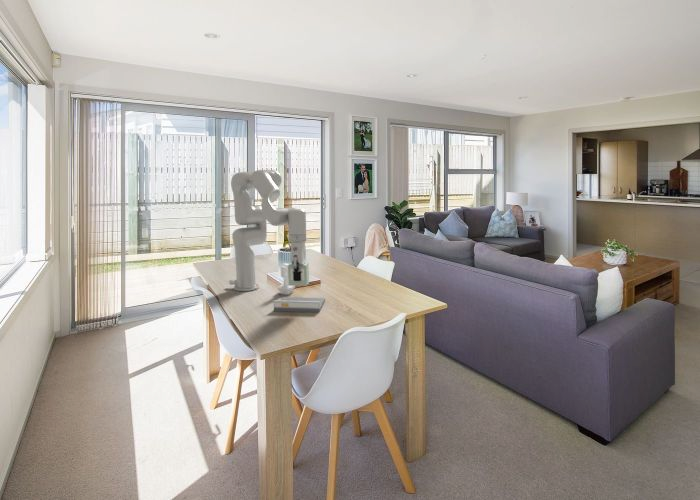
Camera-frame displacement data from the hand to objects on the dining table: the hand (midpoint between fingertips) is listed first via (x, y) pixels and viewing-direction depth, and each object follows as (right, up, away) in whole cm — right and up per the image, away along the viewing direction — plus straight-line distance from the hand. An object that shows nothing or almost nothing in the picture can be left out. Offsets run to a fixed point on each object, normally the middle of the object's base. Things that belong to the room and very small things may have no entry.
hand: (298, 278), depth 182 cm
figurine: (-9, -9, +26) cm, 29 cm away
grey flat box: (0, -13, +5) cm, 14 cm away
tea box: (0, -2, 0) cm, 2 cm away
